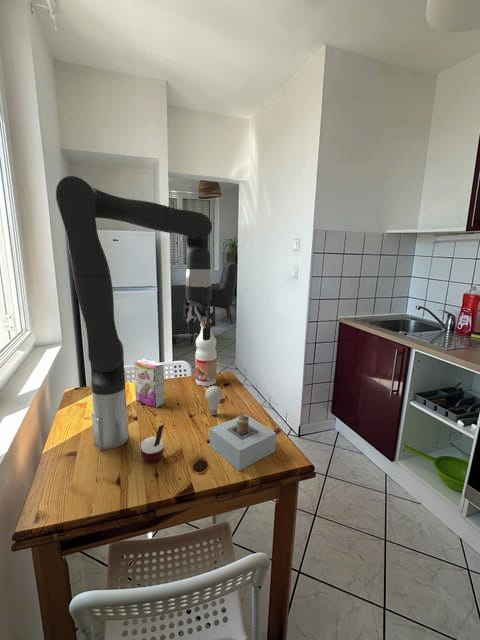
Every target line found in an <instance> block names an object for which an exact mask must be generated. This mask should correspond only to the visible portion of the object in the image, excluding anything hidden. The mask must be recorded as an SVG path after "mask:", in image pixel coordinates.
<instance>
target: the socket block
mask: <svg viewBox="0 0 480 640" xmlns="http://www.w3.org/2000/svg"><path fill="white" fill-rule="evenodd" d="M244 415H245V416H247V417H248V418H249V421H248V434H246V435H244V436H240V435H239V434H237V417H235V418H233V419H230V420H227V421H225V422H223V423H220V424H218V425H215V426H212V427H211V428H209V447H210V449H212V450H213V451H215V452H216V453H217V454H218V455H219V456H221V457H222V459H224V460H226V462H228V463H229V464H230V465H232V466H233V467H234V468H235V469H236V470H238V471H242V470H244V469H245V468H247V467H248V466H251V465H254V464H255V463H256V462H259V461H260V460H262V459H264V458H266V457H267V456H270V455H272V453H275V452H276V445H277V432H275V431H273V430H272V429H270V428H268V427H267V426H265V425H264V424H262V423H260V422H259V421H257V420H256V419H254V418H252V417H251V416H248V414H246V413H245V414H244Z"/></svg>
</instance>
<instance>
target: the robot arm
mask: <svg viewBox="0 0 480 640" xmlns="http://www.w3.org/2000/svg"><path fill="white" fill-rule="evenodd" d="M54 197H55V198H54V199H55V202H56V204H57V208H58V211H59V214H60V217H61V221H62V224H63V227H64V230H65V234H66V240H67V246H68V247H67V248H68V253H69V254H68V255H69V261H70V265H71V271H72V272H71V273H72V277H73V278H72V279H73V283H74V288H75V292H76V295H77V301H78V304H79V309H80V310H81V311H80V312H81V314H82V318H83V320H84V323H85V329H86V337H87V351H88V352H87V354H88V355H87V356H88V360H89V363H90V371H91V372H90V375H91V376H90V377H91V378H90V379H91V381H90V383H91V384H90V385H91V393H92V394H91V395H92V406H93V412H92V413H91V419H92V431H93V434H92V435H93V442H94V443H95V445H96V446H97V448H98V450H100V451H102V450H107V449H108V450H110V449H114V448H118V447H121V446H122V445H124V444H126V442H127V441H128V439H129V429H128V413H127V412H128V410H127V391H126V377H125V375H126V374H125V359H124V346H123V343H122V341H121V340H120V338H119V335H118V331H117V327H116V323H115V309H114V308H115V305H114V304H115V303H114V301H115V300H114V290H113V289H114V288H113V282H112V276H111V271H110V267H109V263H108V260H107V257H106V254H105V251H104V249H103V246H102V244H101V240H100V239H99V234H98V230H97V229H98V228H97V220H96V219H107V220H112V221H119V222H122V223H127V224H130V225H134V226H137V227H138V226H139V227H142V228H146V229H150V230H154V231H158V232H162V233H169V234H178V235H183V236H185V245H186V256H185V257H186V258H185V259H186V260H185V261H186V266H185V267H186V271H185V272H186V273H185V299H186V300H184V301H183V319H184V321H185V320H186V323H187V334H188V335H190V336H191V335H195V334H196V322H195V321H196V320H197V319H198V321H199V322H200V323H202V326H203V340H205V341H206V340H210V329H211V330H212V328H213V327H216V307H215V305H213V306H211V305H210V306H209V301H211V300H212V274H211V252H210V250H209V235H211V233H212V230H213V224H212V221H211V219H210V217H208V215H206V214H205V213H202V212H198V211H195V210H194V211H192V210H187V209H180V208H174V207H172V206H167V205H164V204H159V203H157V202H156V203H155V202H151V201H145V200H140V199H132V198H125V197H120V196H116V195H113V194H109V193H107V192H104V191H102V190H99V189H97V188H95V187H93V186H92V185H91V184H90V183H88V182H87V181H86V180H84V179H83V178H80V177H78V176H75V175H67V176H64V177H62V178H61V179H60V180H59V181H58V182H57V184H56V186H55V190H54ZM205 321H206V323H205Z"/></svg>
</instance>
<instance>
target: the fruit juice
mask: <svg viewBox="0 0 480 640" xmlns="http://www.w3.org/2000/svg"><path fill="white" fill-rule="evenodd" d="M205 323H206V321H205ZM200 327H201V328H200V332H199V334H198V336H197V337H196V339H195V347H196V349H195V350H196V351H195V353H194V354H195V355H194V358H195V360H194V361H195V384H196V383H197V384H198V385H197V384H196V385H197V386H199V385H202V386H201V387H211V386H210V385H212V386H214V385H216V383H217V372H218V371H217V370H218V369H217V363H218V362H217V360H218V359H217V357H218V356H217V350H216V347H217V339H216V337H215V335H214V334H213V332H212V328H211V329H210V340H206V341H205V340H203V326H202V323H201V322H200ZM213 384H214V385H213Z"/></svg>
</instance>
